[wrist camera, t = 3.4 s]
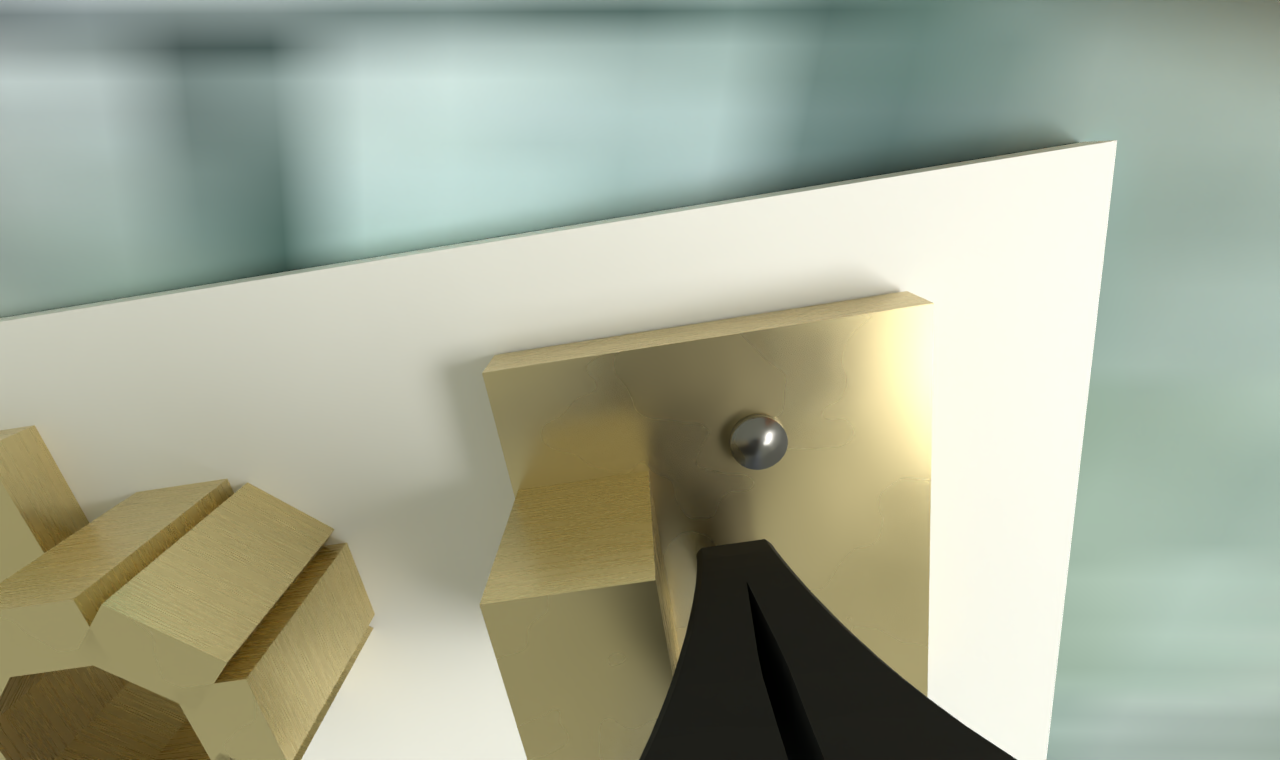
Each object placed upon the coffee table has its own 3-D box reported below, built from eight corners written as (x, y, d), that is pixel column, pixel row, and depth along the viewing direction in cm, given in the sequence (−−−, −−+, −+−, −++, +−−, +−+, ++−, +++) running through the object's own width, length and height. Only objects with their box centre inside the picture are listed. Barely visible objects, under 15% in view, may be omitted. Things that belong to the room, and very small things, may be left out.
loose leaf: (906, 669, 14) (1011, 860, 10) (584, 712, 14) (569, 913, 10) (907, 290, 11) (1058, 359, 7) (494, 355, 11) (424, 454, 7)
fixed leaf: (420, 730, 14) (357, 900, 11) (-74, 796, 15) (-276, 978, 11) (286, 386, 11) (144, 478, 8) (-334, 482, 12) (-713, 608, 8)
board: (1025, 738, 16) (1045, 767, 15) (30, 865, 17) (2, 898, 16) (1083, 141, 11) (1116, 140, 10) (-353, 375, 12) (-421, 390, 11)
